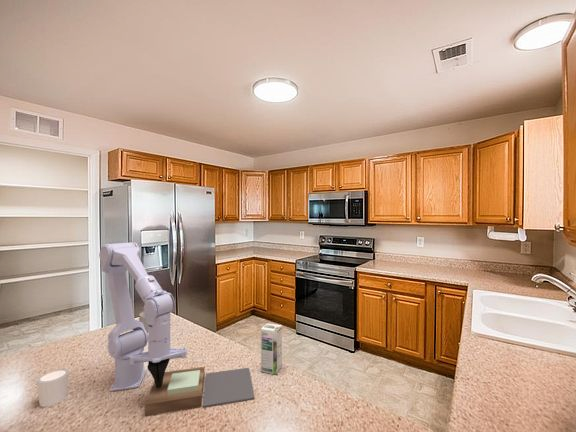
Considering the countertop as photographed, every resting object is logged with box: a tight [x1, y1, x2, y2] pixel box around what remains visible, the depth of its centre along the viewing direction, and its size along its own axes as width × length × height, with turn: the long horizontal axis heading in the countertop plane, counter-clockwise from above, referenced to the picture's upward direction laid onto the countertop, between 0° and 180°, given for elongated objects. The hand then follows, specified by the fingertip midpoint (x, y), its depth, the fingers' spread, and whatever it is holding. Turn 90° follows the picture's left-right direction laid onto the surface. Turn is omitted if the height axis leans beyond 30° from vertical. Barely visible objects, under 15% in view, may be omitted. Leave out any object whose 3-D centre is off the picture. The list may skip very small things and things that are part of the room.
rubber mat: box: [202, 367, 256, 409], centre depth 82 cm, size 16×14×1 cm
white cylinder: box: [36, 368, 70, 408], centre depth 76 cm, size 7×7×7 cm
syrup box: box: [260, 323, 283, 376], centre depth 92 cm, size 6×6×14 cm
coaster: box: [167, 370, 200, 395], centre depth 78 cm, size 8×8×2 cm
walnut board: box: [144, 366, 205, 417], centre depth 79 cm, size 15×14×3 cm
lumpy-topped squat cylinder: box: [138, 311, 148, 334], centre depth 127 cm, size 10×13×9 cm
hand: (159, 385), depth 77 cm, fingers closed
